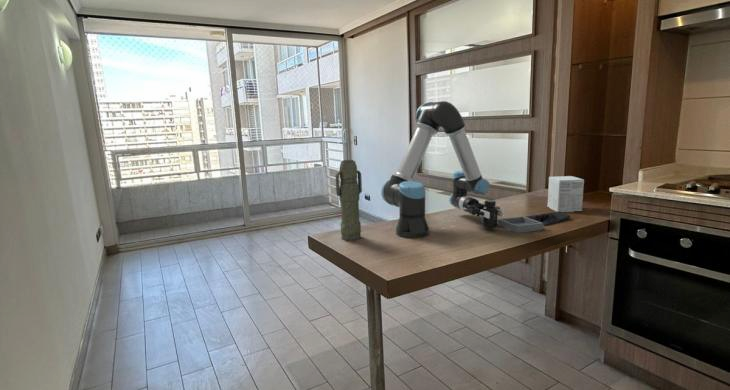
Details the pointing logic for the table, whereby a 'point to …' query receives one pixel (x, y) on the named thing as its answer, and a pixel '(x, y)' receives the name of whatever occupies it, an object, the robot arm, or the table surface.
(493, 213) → the supplement bottle
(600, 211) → the table surface
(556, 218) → the dark slate chunk
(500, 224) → the tray
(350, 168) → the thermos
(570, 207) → the supplement box
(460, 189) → the robot arm
